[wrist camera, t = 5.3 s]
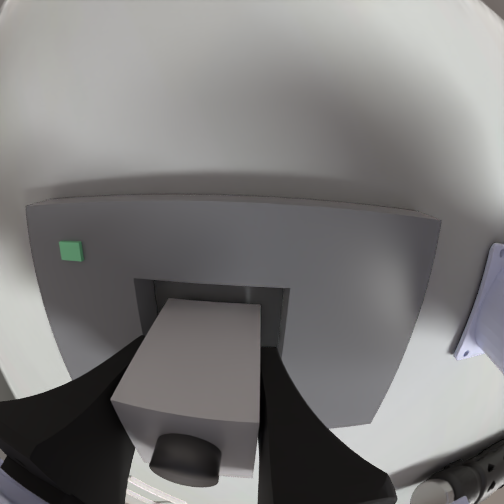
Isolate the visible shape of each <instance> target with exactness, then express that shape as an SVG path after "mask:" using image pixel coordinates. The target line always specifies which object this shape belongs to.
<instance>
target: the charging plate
mask: <svg viewBox="0 0 504 504" xmlns="http://www.w3.org/2000/svg"><path fill="white" fill-rule="evenodd" d="M26 216H27V225H28V232H29V239H30V246H31V251H32V257H33V262H34V267H35V272H36V276H37V280H38V285H39V289H40V292H41V296H42V300H43V303H44V307H45V310H46V314H47V317H48V320H49V323H50V326H51V329H52V332H53V335H54V337H55V340H56V343H57V346H58V348H59V351H60V353H61V356H62V358H63V361H64V363H65V365H66V368H67V370H68V372H69V374H70V377H71V379H72V380H74V379H76V378H78V377H80V376H82V375H84V374H85V373H87V372H89V371H90V370H92V369H93V368H95V367H97V366H98V365H100V364H101V363H103V362H104V361H106V360H107V359H109V358H110V357H111V356H113V355H114V354H116V353H117V352H118V351H120V350H121V349H123V348H124V347H125V346H127V345H128V344H129V343H131V342H132V341H133V340H135V339H136V338H138V337H139V336H141V335H145V336H146V335H147V333H148V332H149V330H150V328H151V327H152V325H153V323H154V322H155V320H156V318H157V317H158V315H157V307H156V300H155V291H154V282H153V280H161V281H173V282H186V283H201V284H216V285H233V286H252V287H273V288H284V291H283V301H282V311H281V320H280V329H279V338H278V346H277V349H278V351H279V354H280V357H281V359H282V362H283V364H284V366H285V368H286V370H287V372H288V374H289V376H290V378H291V379H292V381H293V383H294V384H295V386H296V388H297V389H298V391H299V393H300V394H301V396H302V397H303V399H304V400H305V401H306V403H307V404H308V406H309V407H310V408H311V409H312V411H313V412H314V413H315V414H316V416H317V417H318V418H319V419H320V420H321V421H322V423H323V424H324V425H325V426H326V427H327V428H328V429H329V428H339V427H348V426H356V425H363V424H370V423H371V422H372V420H373V418H374V416H375V414H376V413H377V411H378V409H379V407H380V405H381V403H382V401H383V399H384V397H385V395H386V393H387V391H388V389H389V387H390V385H391V383H392V381H393V379H394V376H395V374H396V372H397V370H398V368H399V365H400V363H401V361H402V358H403V356H404V353H405V351H406V348H407V346H408V343H409V341H410V338H411V335H412V333H413V330H414V327H415V324H416V321H417V318H418V315H419V312H420V309H421V306H422V303H423V299H424V296H425V293H426V289H427V285H428V282H429V278H430V274H431V270H432V266H433V262H434V257H435V253H436V248H437V243H438V238H439V232H440V227H441V220H439V219H437V218H434V217H432V216H429V215H427V214H424V213H421V212H419V211H414V210H406V209H399V208H391V207H383V206H375V205H366V204H356V203H346V202H336V201H324V200H312V199H298V198H283V197H265V196H243V195H208V194H142V195H109V196H88V197H71V198H57V199H49V200H45V201H42V202H38V203H35V204H31V205H28V206H26Z"/></svg>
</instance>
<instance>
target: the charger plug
mask: <svg viewBox="0 0 504 504" xmlns="http://www.w3.org/2000/svg"><path fill="white" fill-rule="evenodd" d="M260 332H261V305H259V304H240V303H223V302H209V301H196V300H184V299H173V298H169V299H168V300H167V302H166V303H165V305H164V307H163V308H162V310H161V312H160V313H159V315H158V317H157V318H156V320H155V322H154V323H153V325H152V327H151V328H150V330H149V332H148V333H147V335H146V337H145V338H144V340H143V342H142V343H141V345H140V347H139V349H138V350H137V352H136V354H135V356H134V357H133V359H132V361H131V363H130V364H129V366H128V368H127V370H126V371H125V373H124V375H123V377H122V379H121V380H120V382H119V384H118V386H117V388H116V390H115V391H114V393H113V395H112V397H111V399H110V400H111V402H112V404H113V407H114V409H115V411H116V413H117V415H118V417H119V419H120V421H121V423H122V425H123V426H124V428H125V430H126V432H127V434H128V436H129V438H130V439H131V441H132V443H133V445H134V446H135V448H136V450H137V451H138V453H139V455H140V456H141V458H142V460H143V461H144V462H146V463H150V464H149V467H150V469H151V470H152V471H153V472H154V473H155V474H157V475H158V476H160V477H162V478H164V479H166V480H168V481H171V482H174V483H177V484H181V485H185V486H191V487H211V486H214V485H216V484H217V483H218V480H219V476H228V477H242V478H253V470H254V462H255V454H256V446H257V438H258V430H259V412H260Z"/></svg>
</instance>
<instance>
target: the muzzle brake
mask: <svg viewBox="0 0 504 504" xmlns="http://www.w3.org/2000/svg"><path fill="white" fill-rule="evenodd" d="M503 486H504V439H503V440H501V441H500V442H498V443H496V444H494V445H492V446H490V447H489V448H488V449H487V450H483V451H482V452H481V453H479V454H478V456H476V457H474V458H472V459H470V460H468V461H466V462H464V461H463V460H462V459H461V460H459V461H457V462H454V463H452V464H449V465H448V466H447V467H446V468H444V470H443V471H440V472H438V473H435V474H434V475H432V476H431V477H430V478H429V479H427V480H426V481H424V482H422V483H421V484H420V485H419V486H417V488H416V489H415V490H414V492H413V494H412V497H411V500H410V504H450V503H452V502H454V501H456V500H458V499H460V498H461V497H463V496H466V497H467V499H468V502H469V504H479V503H480V502H482V501H483V500H485V499H486V498H488V497H489V496H490V495H491V494H492V493H493V492H495V491H496V490H498V489H499V488H502V487H503Z"/></svg>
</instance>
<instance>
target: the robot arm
mask: <svg viewBox="0 0 504 504" xmlns="http://www.w3.org/2000/svg"><path fill="white" fill-rule="evenodd" d="M145 337H146V336H145V335H141V336H139V337H138V338H136V339H135V340H133V341H132V342H131V343H129V344H128V345H127V346H125V347H124V348H123V349H121V350H120V351H118V352H117V353H116V354H114V355H113V356H111V357H110V358H109V359H107V360H106V361H104V362H103V363H101V364H100V365H98V366H97V367H95V368H93V369H92V370H90V371H89V372H87V373H85V374H84V375H82V376H80V377H78V378H76V379H74V380H72V381H70V382H68V383H66V384H64V385H62V386H59V387H57V388H54V389H52V390H49V391H46V392H44V393H41V394H37V395H34V396H30V397H26V398H22V399H16V400H10V401H2V402H0V448H1V449H2V451H3V452H4V453H5V454H6V455H7V457H6V459H5V460H4V461H3V460H2V459H0V504H125V496H126V489H127V483H128V477H129V472H130V468H131V463H132V459H133V455H134V451H135V446H134V445H133V443H132V441H131V439H130V438H129V436H128V434H127V432H126V430H125V428H124V426H123V425H122V423H121V421H120V419H119V417H118V415H117V413H116V411H115V409H114V407H113V404H112V402H111V400H110V399H111V397H112V395H113V393H114V391H115V390H116V388H117V386H118V384H119V382H120V380H121V379H122V377H123V375H124V373H125V371H126V370H127V368H128V366H129V364H130V363H131V361H132V359H133V357H134V356H135V354H136V352H137V350H138V349H139V347H140V345H141V343H142V342H143V340H144V338H145ZM484 353H485V354H486V355H487V356H488V357H489V358H490V359H491V360H492V362H493V363H494V364H495V365H496V366H497V367H498V368H499V370H500V371H501V372H502V373H503V374H504V244H501V243H494V244H493V245H492V246H491V248H490V251H489V255H488V260H487V264H486V267H485V271H484V275H483V278H482V282H481V285H480V288H479V291H478V294H477V297H476V300H475V303H474V306H473V309H472V312H471V314H470V317H469V320H468V322H467V325H466V327H465V330H464V332H463V334H462V337H461V339H460V341H459V344H458V346H457V348H456V350H455V352H454V357H455V359H456V360H461V359H465V358H469V357H473V356H477V355H480V354H484ZM258 444H259V484H258V504H395V503H396V502H397V495H396V492H395V489H394V486H393V484H392V482H391V480H390V478H389V476H388V474H387V473H385V472H384V471H382V470H380V469H378V468H377V467H375V466H373V465H372V464H370V463H369V462H367V461H366V460H364V459H363V458H362V457H360V456H359V455H358V454H356V453H355V452H354V451H352V450H351V449H350V448H349V447H348V446H346V445H345V444H344V443H343V442H342V441H341V440H340V439H339V438H337V437H336V436H335V435H334V434H333V433H332V432H331V431H330V430H329V429H328V428H327V427H326V426H325V425H324V424H323V423H322V421H321V420H320V419H319V418H318V417H317V416H316V414H315V413H314V412H313V411H312V409H311V408H310V407H309V406H308V404H307V403H306V401H305V400H304V399H303V397H302V396H301V394H300V393H299V391H298V389H297V388H296V386H295V384H294V383H293V381H292V379H291V378H290V376H289V374H288V372H287V370H286V368H285V366H284V364H283V362H282V359H281V357H280V354H279V351H278V349H277V348H276V347H260V412H259V430H258ZM450 504H469V502H468V499H467V497H466V496H463V497H461V498H460V499H458V500H456V501H454V502H452V503H450Z"/></svg>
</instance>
